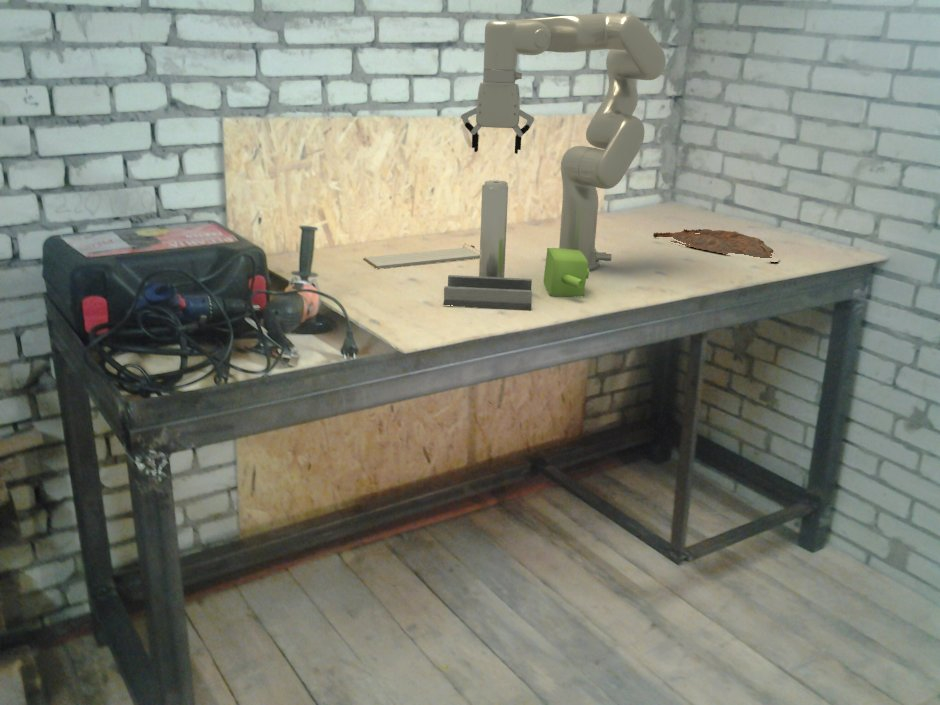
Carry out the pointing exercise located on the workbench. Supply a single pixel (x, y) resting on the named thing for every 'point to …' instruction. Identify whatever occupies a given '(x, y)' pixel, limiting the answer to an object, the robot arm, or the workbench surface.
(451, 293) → the floor track
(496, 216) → the tan metal cylinder
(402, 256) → the baseboard
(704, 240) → the brown flat irregular piece
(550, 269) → the lime handled box
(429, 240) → the workbench surface
